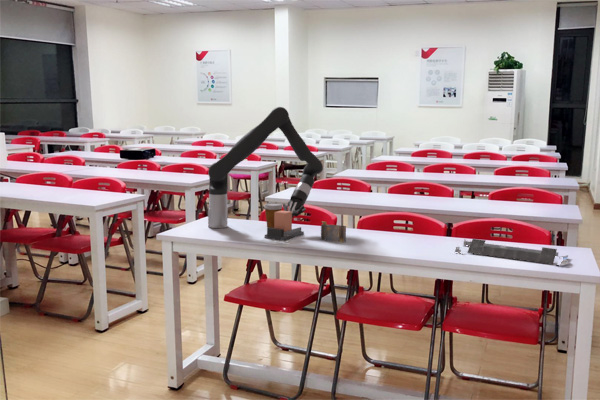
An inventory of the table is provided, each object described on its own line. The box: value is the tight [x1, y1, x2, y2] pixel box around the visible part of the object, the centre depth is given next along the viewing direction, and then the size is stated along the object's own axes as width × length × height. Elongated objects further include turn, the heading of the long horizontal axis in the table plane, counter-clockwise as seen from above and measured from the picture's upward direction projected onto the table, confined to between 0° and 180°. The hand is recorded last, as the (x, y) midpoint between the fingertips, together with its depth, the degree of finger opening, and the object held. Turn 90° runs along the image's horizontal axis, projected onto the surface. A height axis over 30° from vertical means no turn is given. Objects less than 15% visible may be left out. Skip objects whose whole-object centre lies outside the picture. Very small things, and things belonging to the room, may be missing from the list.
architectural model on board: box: [320, 220, 347, 243], centre depth 269 cm, size 11×3×10 cm, turn 68°
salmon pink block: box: [274, 210, 293, 232], centre depth 276 cm, size 6×6×10 cm
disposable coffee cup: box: [263, 202, 283, 228], centre depth 299 cm, size 10×10×12 cm
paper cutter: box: [454, 238, 570, 267], centre depth 244 cm, size 18×45×6 cm, turn 59°
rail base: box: [264, 226, 305, 242], centre depth 277 cm, size 17×11×5 cm, turn 147°
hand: (287, 221), depth 279 cm, fingers closed
